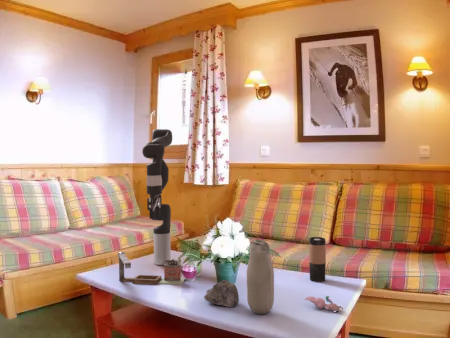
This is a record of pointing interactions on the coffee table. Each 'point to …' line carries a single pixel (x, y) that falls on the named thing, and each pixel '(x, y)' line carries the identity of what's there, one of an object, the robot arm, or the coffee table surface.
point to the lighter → (172, 270)
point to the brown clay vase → (260, 278)
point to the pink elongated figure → (321, 303)
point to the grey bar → (124, 259)
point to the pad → (172, 282)
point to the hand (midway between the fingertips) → (154, 217)
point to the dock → (138, 276)
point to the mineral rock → (223, 294)
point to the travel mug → (317, 259)
